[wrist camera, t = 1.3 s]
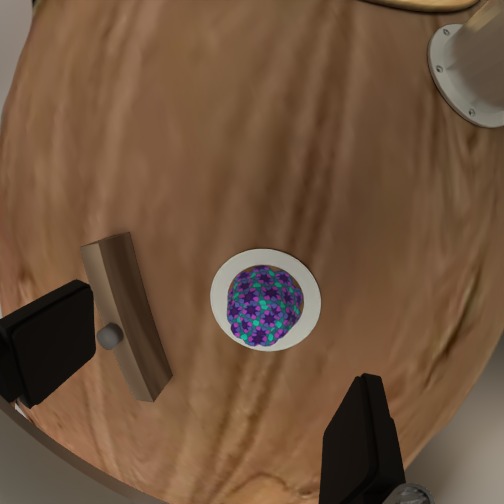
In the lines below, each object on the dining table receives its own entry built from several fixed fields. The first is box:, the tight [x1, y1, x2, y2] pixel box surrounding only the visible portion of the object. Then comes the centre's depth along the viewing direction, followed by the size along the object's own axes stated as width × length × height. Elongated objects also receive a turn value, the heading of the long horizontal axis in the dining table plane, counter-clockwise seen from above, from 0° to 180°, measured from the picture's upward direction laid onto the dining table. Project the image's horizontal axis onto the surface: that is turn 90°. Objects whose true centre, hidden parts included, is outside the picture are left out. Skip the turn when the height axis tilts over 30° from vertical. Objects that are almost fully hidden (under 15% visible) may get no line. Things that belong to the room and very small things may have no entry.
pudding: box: [210, 249, 321, 351], centre depth 30 cm, size 12×12×5 cm
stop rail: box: [80, 232, 173, 402], centre depth 32 cm, size 3×20×8 cm, turn 11°
